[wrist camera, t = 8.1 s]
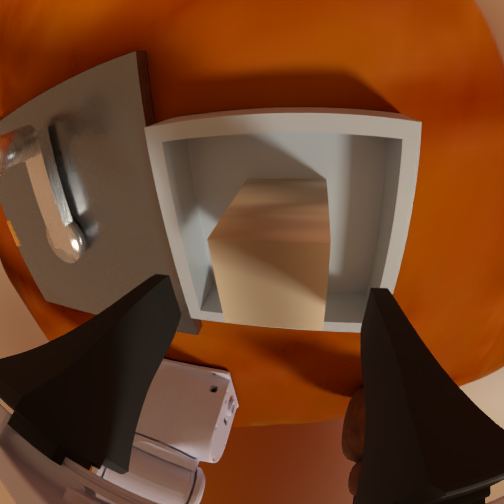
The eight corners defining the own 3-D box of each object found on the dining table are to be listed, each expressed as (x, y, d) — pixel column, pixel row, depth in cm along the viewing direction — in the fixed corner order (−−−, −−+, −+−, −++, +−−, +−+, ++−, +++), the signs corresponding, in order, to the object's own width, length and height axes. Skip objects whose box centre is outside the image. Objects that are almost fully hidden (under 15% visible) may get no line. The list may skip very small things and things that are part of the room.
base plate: (145, 51, 12) (134, 50, 11) (201, 325, 22) (197, 335, 22) (-10, 130, 16) (-19, 134, 15) (50, 295, 27) (45, 301, 26)
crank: (92, 257, 19) (36, 318, 13) (64, 254, 20) (12, 308, 14) (48, 100, 12) (-38, 132, 7) (22, 115, 13) (-53, 148, 8)
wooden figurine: (344, 404, 26) (329, 536, 14) (343, 378, 23) (327, 538, 11) (405, 398, 24) (405, 529, 12) (415, 370, 21) (421, 528, 9)
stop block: (326, 179, 13) (331, 243, 9) (324, 248, 16) (322, 330, 11) (247, 179, 14) (207, 239, 9) (254, 245, 16) (224, 322, 12)
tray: (401, 113, 11) (421, 122, 9) (375, 298, 17) (380, 332, 15) (173, 117, 14) (144, 127, 11) (206, 287, 20) (191, 318, 17)
